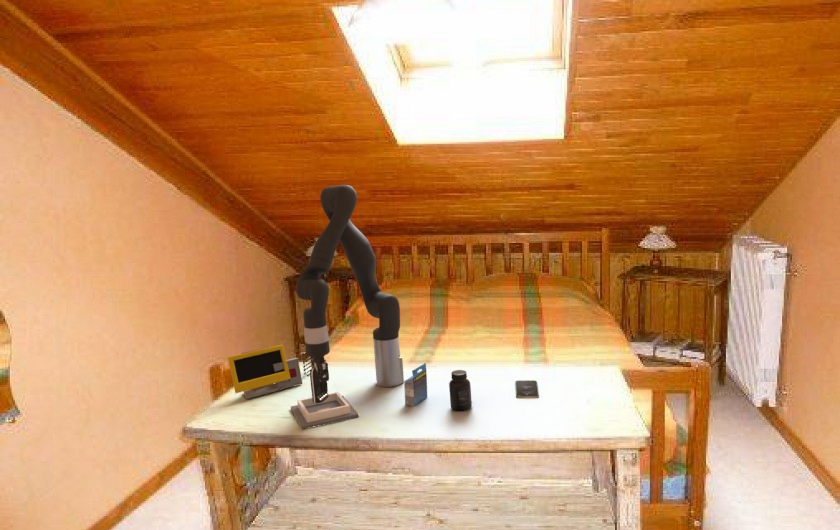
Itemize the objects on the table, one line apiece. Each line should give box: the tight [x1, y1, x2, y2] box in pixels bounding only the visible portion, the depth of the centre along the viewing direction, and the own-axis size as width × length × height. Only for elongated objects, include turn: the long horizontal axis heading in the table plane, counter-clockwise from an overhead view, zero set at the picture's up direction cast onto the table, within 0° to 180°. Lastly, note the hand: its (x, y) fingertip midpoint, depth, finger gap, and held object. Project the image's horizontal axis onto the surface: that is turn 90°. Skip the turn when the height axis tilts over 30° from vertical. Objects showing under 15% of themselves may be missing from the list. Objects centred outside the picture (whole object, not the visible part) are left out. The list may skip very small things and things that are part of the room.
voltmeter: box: [273, 352, 312, 391], centre depth 234 cm, size 27×11×10 cm, turn 159°
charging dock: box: [290, 391, 360, 430], centre depth 200 cm, size 18×18×4 cm
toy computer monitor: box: [227, 344, 290, 400], centre depth 221 cm, size 20×8×16 cm, turn 124°
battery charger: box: [309, 367, 330, 403], centre depth 199 cm, size 7×4×11 cm, turn 163°
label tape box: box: [403, 362, 428, 407], centre depth 205 cm, size 9×4×12 cm, turn 150°
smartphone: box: [514, 379, 540, 399], centre depth 209 cm, size 8×1×15 cm
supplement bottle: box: [448, 369, 473, 413], centre depth 197 cm, size 7×7×12 cm
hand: (321, 388), depth 199 cm, fingers closed on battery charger, 7 cm apart
